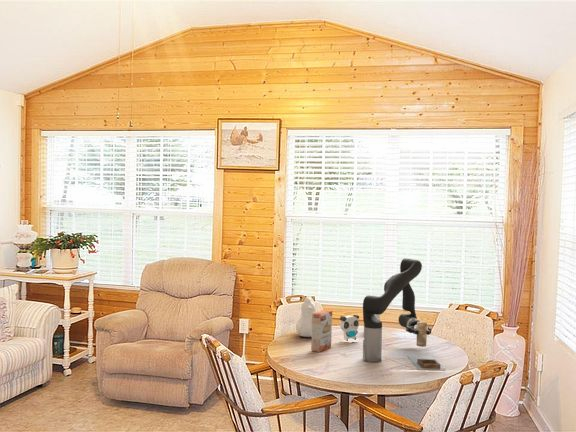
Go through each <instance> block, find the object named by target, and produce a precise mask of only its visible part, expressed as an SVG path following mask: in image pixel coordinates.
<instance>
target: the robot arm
mask: <svg viewBox="0 0 576 432" xmlns="http://www.w3.org/2000/svg"><path fill="white" fill-rule="evenodd" d="M399 266H400V267H399V271H400V272H398V273H395V274H393V275H392V276H390V277H389V278H388V279H387V280H386V281H385V283H384V284H383V285H384V286H383V292H384V293H383V294H382V295H380V296H376V295H366V296H365V297H364V299H363V301H362V320H363V340H362V348H363V349H362V360H363V361H364V362H369V363H370V362H371V363H378V362H381V361H382V358H383V357H382V346H383V343H382V341H383V337H382V336H383V322H382V321H381V319H380V320H378V319H377V318H376V317H375V316H374V314H377V315H380V316H381V315H382V314H384V312H385V311H386V310H387V309H388V307H389V306H390V304H391V303H392V301H393V300H394V299H395V298H396V297H397V296H398V295H399V294H400V293H401V292H402V300H401V301H402V305H401V308H402V310H404V311H406V312H410V313H402V314H399V316H398V320H397V321H398V324H399V325H400V326H401V327H402V328H405V331H406V332H408V333H410V334H414V335H415V336H417V335H418V332H419V331H418V330H417V322H421V320H419V319H418V317H417V314H416V307H415V306H416V296H415V295H416V294H415V292H414V290H413V288H412V286H411V284H410V283H411V281H413V280H414V279H415V278H417V277H418V276H419V274H420V273H421V272H422V269H423V263H422V262H421V261H420V260H418V259H414V258H402V259H401V261H400V265H399ZM430 334H432V327H431V326H427V336H429V335H430Z"/></svg>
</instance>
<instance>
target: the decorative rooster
mask: <svg viewBox="0 0 576 432" xmlns="http://www.w3.org/2000/svg"><path fill="white" fill-rule="evenodd" d="M316 308H317V307H316V305H315V303H314V301H312V298H311V297H310V296H306V297H305V298H304V300H303V302H302V304H301V308H300V309H301V311H300V312H301V316H300V317H299V319H298V320H297V323H296V325H295V328H296V329H295V330H296V333H297V335H298V336H300V337H303V338H312V313H316V312H317V309H316Z"/></svg>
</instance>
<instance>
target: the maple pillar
mask: <svg viewBox="0 0 576 432" xmlns="http://www.w3.org/2000/svg"><path fill="white" fill-rule="evenodd" d="M427 328H428V322H426V321H420V322H417V330H418V331H419V332H418V335H416V344H415V345H416V346H417V347H422V348H423V347H427V339H428V338H427V336H428V335H427Z"/></svg>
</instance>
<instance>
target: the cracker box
mask: <svg viewBox="0 0 576 432" xmlns="http://www.w3.org/2000/svg"><path fill="white" fill-rule="evenodd" d="M332 327H333V311H332V310H327V309H323V310H319V311H316V313H312V337H311V341H310V342H311V346H310V347H311V350H312V351H311V352H316V351H318V352H317V353H321V352H323V351H322V350H324V351H326V350H327V348H328V349H330V348H332V334H333V332H332V330H333V329H332ZM329 347H330V348H329ZM325 349H326V350H325ZM320 351H321V352H320Z"/></svg>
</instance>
